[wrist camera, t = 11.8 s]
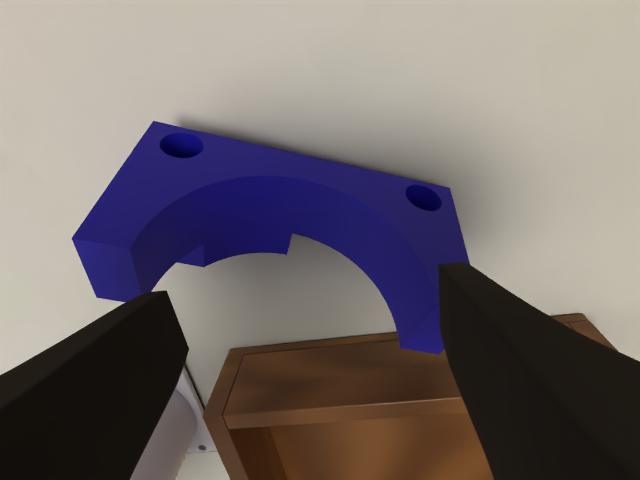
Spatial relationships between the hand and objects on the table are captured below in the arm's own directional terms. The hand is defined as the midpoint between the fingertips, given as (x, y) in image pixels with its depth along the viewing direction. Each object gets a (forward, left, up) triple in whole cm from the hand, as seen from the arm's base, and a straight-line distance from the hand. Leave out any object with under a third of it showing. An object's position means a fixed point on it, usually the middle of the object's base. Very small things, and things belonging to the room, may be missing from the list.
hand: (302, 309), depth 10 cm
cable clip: (-1, +1, -8) cm, 8 cm away
